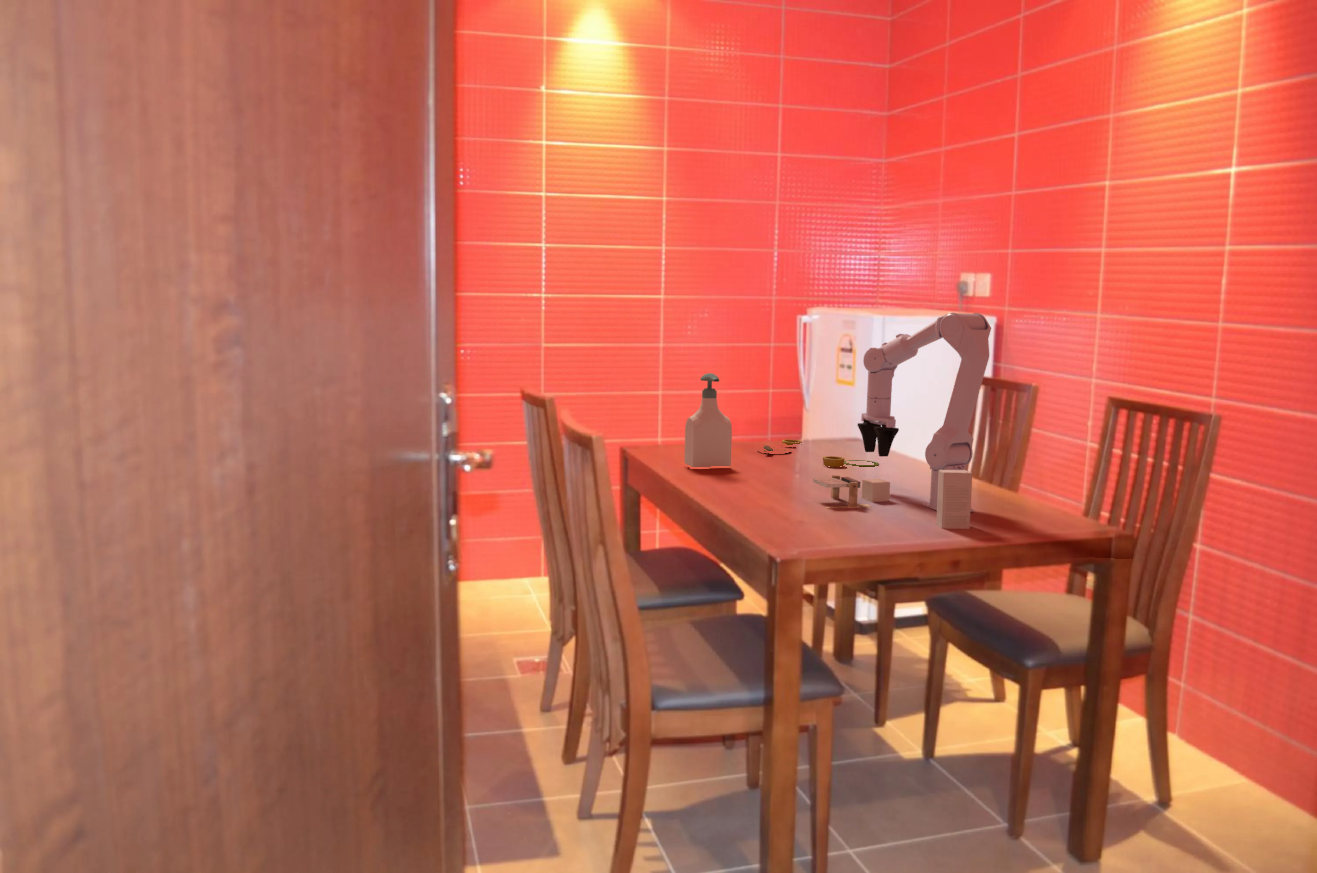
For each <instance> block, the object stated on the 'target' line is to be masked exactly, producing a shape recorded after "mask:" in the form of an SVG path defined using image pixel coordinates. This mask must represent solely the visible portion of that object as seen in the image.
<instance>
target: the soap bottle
mask: <svg viewBox="0 0 1317 873" xmlns="http://www.w3.org/2000/svg"><path fill="white" fill-rule="evenodd" d="M700 381H702V382H703V381H704V382H707V387H705V388H703V389H702V392H701V402H700V406H699V408H698V409H697V411H696V412H695V413H693V414H692V415H691V416H689V417H687V419H686V422H685V426H684V457H683V458H684V462H683V463H686V464H687V465H690V466H691V467H711V466H731V467H732V443H733V442H732V440H733V439H732V438H733V427H732V421H731V419H730V418H729V416H726V415H725V414H724V413H723V412H722V411H721V410H720V408H719V406H718V399H717V393H718V392H717V390H716V388H713V382H714V383H715V382H717V383H718V382H720V378H719V376H718V375H716V374H714V373H711V372H708V373H705V374H703V375H702V376H701V377H700Z"/></svg>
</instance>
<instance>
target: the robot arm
mask: <svg viewBox="0 0 1317 873" xmlns="http://www.w3.org/2000/svg"><path fill="white" fill-rule="evenodd" d="M991 330H992V326H991V325H990V323H989V322H988V320H987V318H986V317H985V315H983V314H981V313H977V312H974V313H960V312H959V313H957V312H948V313H946V314H944V315H942V316H939V317H938V318H937V319H936V320H935V321H933V322H931V323H930V324H927V326H925V327H923V328H922V329H920V330H918V331H917V332H915V333H913V334H911V335H910V334H907V333H898V334H896V335H895V338H894V339H892V340H890V341H888V342H883V343H882V344H881V346H880V347H879V348H878V347H873V346H872V347H869V349H868V350H866V352H865V353H864V355H863V361H862V362H863V366H864V368H865V369H866V370H867V388H866V389H867V391H866V408H865V409H866V411H865V412H866V413H865V412H864V413H863V412H862V413H861V416H860V417H861V420H860V421H861V422H858V423H857V428H858V430H859V431H860V434H861V438H862V442H863V447H864V452H865V453H874V452H875V450H876V445H877V452H878V453H877V454H878V456H879V457H889V454H890V453H891V452H890V450H891V448H892V445H893V441H894V439H895V437H896V436H897V434H898V433H899V428H898V427H896V424H897V423H896V419H895V416H893V415H891V414H892V413H891V411H892V410H891V408H892V391H893V390H892V389H893V388H892V386H893V379H894V378H895V372H896V370H897V368H898V365H901V364H902V363H904V362H907V361H909V360H910V359H912V358H914V357H915V356H917V354H918V353H919V349H921V348H922V347H923V348H924V347H925V346H927V345H929V344H932V343H935V342H937V341H938V340H940V339H943V340H944V341H945V342H946V343H947V344H948V345H949V346H950V347H951V348H952V349H954V350H955V352H956V353H957V354H958V355H959V357H960V359H961V360H960V365H959V368H958V370H957V374H956V379H955V382H954V385H953V388H952V389H953V390H952V392H951V396H950V399H949V403H948V406H947V410H946V414H945V417H944V419H943V420H944V421H943V424H942V426H941V427H939V429H938V430H936V431H935V432H934V433H933V436H932V439H931V440H930V442H929V443H928V444H927V446H926V448H925V452H924V457H925V461H926V463H927V465H928V466H929V470H931V472H930V473H931V476H930V495H929V496H930V497H929V502H923V503H922V504H921V505H922V506H923V507H926V508H929V509H932V510H934V511H937V496H938V471H939V470H967V467H968V465H969V464H970V463H971V461H972V459H973V454H974V453H973V443H974V437H973V436H972V435H971V434H970V432H969V428H970V425H971V421H972V419H973V414H974V411H975V408H976V404H977V401H978V398H979V397H978V396H979V393H980V390H981V387H982V383H983V380H984V376H985V373H986V369H987V366H988V362H989V360H990V344H989V338H990V335H991ZM876 443H877V444H876ZM971 491H972V489H971ZM973 512H975V510H974V509H973V508H971V510H970V513H973Z"/></svg>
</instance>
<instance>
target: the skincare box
mask: <svg viewBox="0 0 1317 873" xmlns="http://www.w3.org/2000/svg"><path fill="white" fill-rule="evenodd" d="M972 483H973V473H972V472H971V471H968V469H965V470H939V471H938V496H937V510H936V525H937V526H938V527H939V528H940V529H947V530H948V529H949V530H950V529H954V530H956V529H962V530H964V529H965V530H966V529H967V530H970V529H971V512H970V510H971V509H972V490H971V489H972V485H973V484H972Z"/></svg>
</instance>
